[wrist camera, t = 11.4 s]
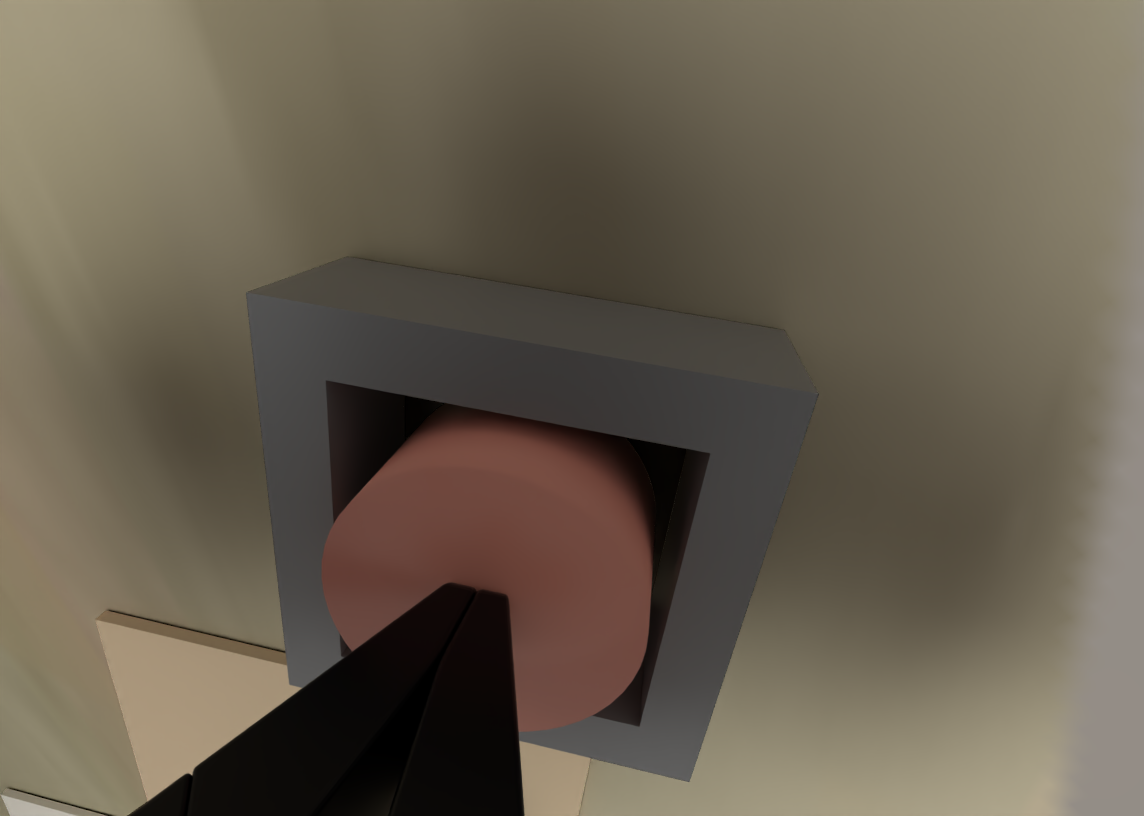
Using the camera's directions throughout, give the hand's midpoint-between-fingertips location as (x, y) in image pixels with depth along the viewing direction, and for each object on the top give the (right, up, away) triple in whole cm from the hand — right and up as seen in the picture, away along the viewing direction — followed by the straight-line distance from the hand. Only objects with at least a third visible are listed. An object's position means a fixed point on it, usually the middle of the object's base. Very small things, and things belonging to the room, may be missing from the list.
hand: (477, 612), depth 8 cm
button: (0, +1, +2) cm, 2 cm away
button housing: (+1, +1, +3) cm, 3 cm away
